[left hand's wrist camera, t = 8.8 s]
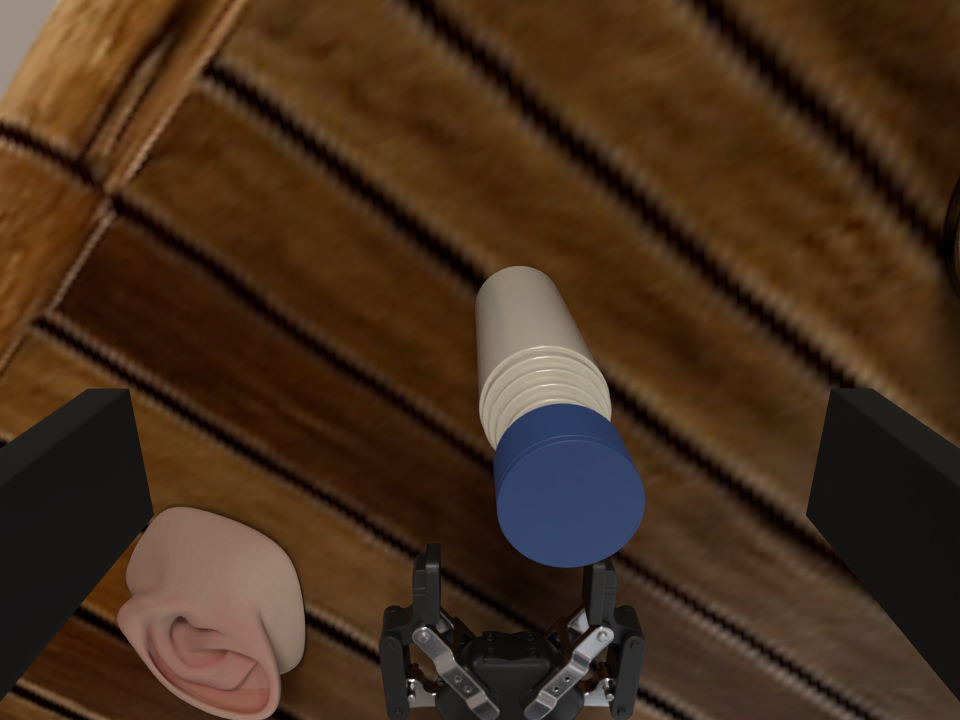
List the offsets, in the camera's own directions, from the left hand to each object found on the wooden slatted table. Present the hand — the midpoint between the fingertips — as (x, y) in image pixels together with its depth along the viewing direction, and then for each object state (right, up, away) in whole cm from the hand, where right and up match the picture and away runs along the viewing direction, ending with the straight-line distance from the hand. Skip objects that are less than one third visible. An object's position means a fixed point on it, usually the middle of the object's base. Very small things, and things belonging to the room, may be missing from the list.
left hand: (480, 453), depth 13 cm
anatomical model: (-17, -13, +30) cm, 37 cm away
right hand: (+2, -8, +22) cm, 23 cm away
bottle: (+2, +5, +24) cm, 24 cm away
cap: (+2, -2, +6) cm, 7 cm away
